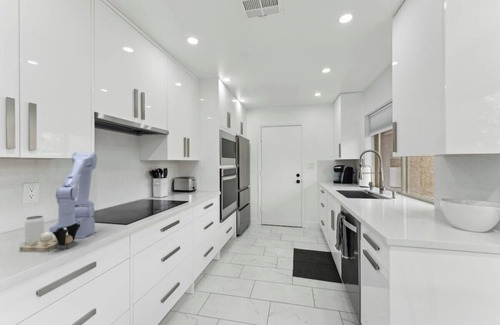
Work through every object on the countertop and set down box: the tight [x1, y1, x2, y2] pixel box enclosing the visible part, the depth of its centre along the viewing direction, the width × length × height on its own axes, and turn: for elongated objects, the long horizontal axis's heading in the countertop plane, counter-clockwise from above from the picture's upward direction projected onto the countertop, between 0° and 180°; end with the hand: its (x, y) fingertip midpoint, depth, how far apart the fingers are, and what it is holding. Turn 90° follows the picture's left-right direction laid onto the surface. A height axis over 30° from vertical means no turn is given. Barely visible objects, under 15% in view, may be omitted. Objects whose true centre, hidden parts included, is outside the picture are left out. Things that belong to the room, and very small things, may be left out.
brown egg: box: [64, 234, 73, 245], centre depth 99 cm, size 4×4×4 cm
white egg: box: [40, 231, 54, 241], centre depth 103 cm, size 4×4×4 cm
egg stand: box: [56, 240, 77, 250], centre depth 99 cm, size 5×5×2 cm
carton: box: [19, 239, 58, 253], centre depth 100 cm, size 12×12×2 cm
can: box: [24, 215, 45, 245], centre depth 105 cm, size 6×6×12 cm
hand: (66, 242), depth 99 cm, fingers open, 4 cm apart
